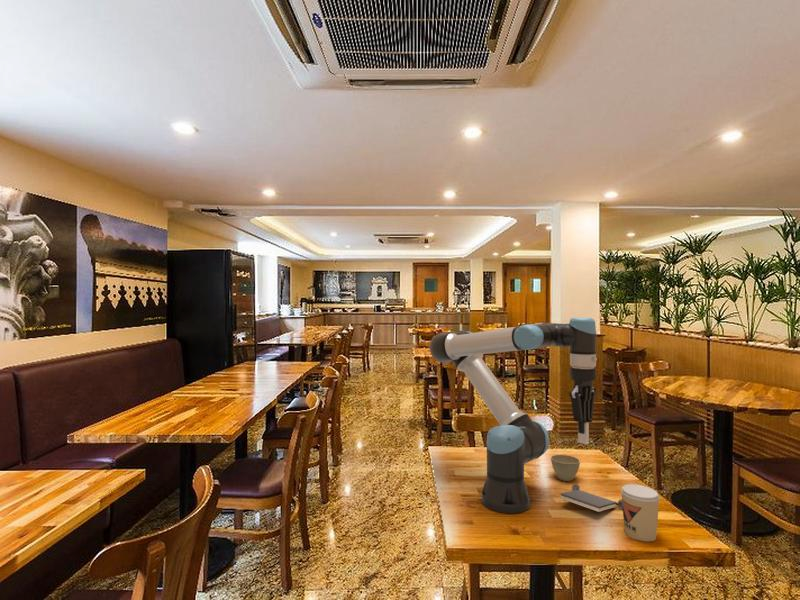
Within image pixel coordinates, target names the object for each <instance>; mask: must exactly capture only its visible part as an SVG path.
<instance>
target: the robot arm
mask: <svg viewBox="0 0 800 600" xmlns="http://www.w3.org/2000/svg"><path fill="white" fill-rule="evenodd" d="M596 326H597V325H596V320H595V319H594V318H592V317H571V318H570V319H569V323H554V322H551V323H550V322H537V323H534V324H532V323H529V324H528V323H527V324H524V325H520V326H519V325H518V326H513V327H512V326H511V327H505V328H497V329H491V330H483V331H479V332H471V331H466V330H457V331H445V332H444V331H443V332H440V333H437V334H436V335H434V336H433V337H432V338H431V341H430V343H429V353H430V355H431V357H432V358H433V359H434V360H436V362H438V363H442V364H449V363H452V364H453V365H454V367H455V368H456V369H457V371H459V372H463V373H464V374H465V376H466V377H467V379H468V380H469V382H470V383H471V385H472V386H473V387H474V389H475V390H476V392H477V393H478V395H479V396H480V398H481V399H482V400H483V402H484V403H485V405H486V406H487V408H488V410H490V412H491V414H492V415H493V417H494V418H495V419H496V421H497V422H498V423H499V425H497V426H493V427H492V428H490V429H489V430H488V432H487V434H486V435H487V436H486V442H485V443H486V444H485V445H486V478H485V482H484V484H483V487H482V491H481V502H482V503H481V504H482V505H484V506H485V507H486V508H488V509H490V510H492V511H495V512H498V513H504V514H518V513H519V514H520V513H524V512H526V511H528V509H529V508H531V507H530V506H531V505H530V504H531V497H530V494H529V493H528V492H529V491H528V488H527V485H526V482H525V465H526V464H527V463H529V462H532V461H533V460H535V459H539V458H540V457H541V456H542V455H544V454H545V453H546V452H547V451H548V449H549V446H550V437H549V433H548V431H547V428H546V427H545V426H544V425H543V424H542V423H540V422H538V421H535V420H532V418H531V416H530V415H529V414H528V413H527V412H522V411H520V409H519V408H518V406H517V405H516V404H515V403H514V401H513V399H512V398H511V397H510V395H509V393H507V391H506V390H505V388H504V387H503V385H502V384H501V383H500V382H499V380H498V379H497V378H496V376H495V375H494V373H493V372H492V370H491V369H490V368H489V366H488V365H487V364H486V362H485V360H484V358H483V356H484V355H485V354H497V353H507V352H515V351H516V352H518V351H525V350H527V351H531V350H536V349H540V348H542V349H543V348H549V347H550V348H551V347H560V348H561V347H564V348H569V365H570V366H571V367H570V369H569V378H570V379H571V380H573V381H574V382H573V383H574V384H573V390H571V391H569V392H568V394H569V397H570V402H571V407H572V408H571V409H572V415H573V416H572V417H573V421H574V422H577V443H579V444H582V445H589V444H590V434H589V433H590V430H589V429H590V427H589V425H590V423H593V420H592V419H593V416H594V407H595V406H594V405H595V398H596V397H595V395H596V393H597V387H594V386H593V382H595V381H596V380H597V369H596V366H597V361H598V357H597V328H596Z"/></svg>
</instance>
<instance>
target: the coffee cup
mask: <svg viewBox="0 0 800 600" xmlns="http://www.w3.org/2000/svg"><path fill="white" fill-rule="evenodd" d="M620 492H621V499H622V505H623V510H622V516H623V517H622V518H623V527H624V532H625V534H626V535H627V536H629V538H632V539H634V540H637V541H641V542H652V541H653V542H654V541H656V539H657V532H658V523H659V522H658V520H659V519H658V518H659V506H660V505H659V504H660V503H659V501H660V495H659V493H658V491H656V490H655V488H652V487H649V486H646V485H643V484H632V483H631V484H625V485H623V486H622V488H621V490H620Z"/></svg>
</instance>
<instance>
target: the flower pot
mask: <svg viewBox="0 0 800 600" xmlns="http://www.w3.org/2000/svg"><path fill="white" fill-rule="evenodd" d="M550 461H551V465H552V468H553V470H554V474H555V475H556V477H557V479H559V480H561V481H564V482H571V481H573V480H574V478H575V477H576V476H577V473H578V471H579V468H580V464H581V460H580V459H579V458H577V457H575V456H572V455H569V454H568V455H567V454H554V455H552V456H551V457H550Z"/></svg>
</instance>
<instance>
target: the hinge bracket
mask: <svg viewBox="0 0 800 600" xmlns="http://www.w3.org/2000/svg"><path fill="white" fill-rule="evenodd" d="M575 490H581V489H580V485H579V484H573V485H572V486H571V491H575ZM616 506H617V508H618V510H622V511H623V505H622V498H620V499H619V500H617V502H616Z"/></svg>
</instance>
